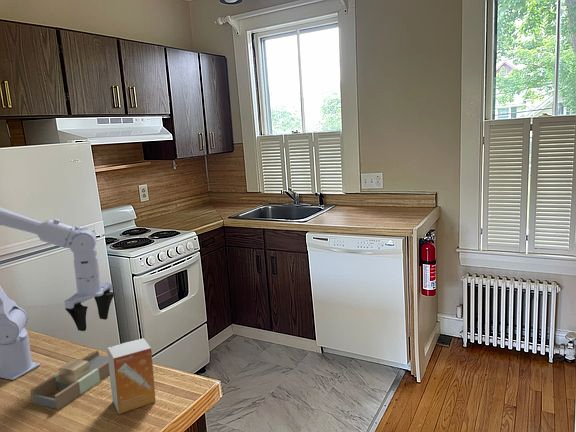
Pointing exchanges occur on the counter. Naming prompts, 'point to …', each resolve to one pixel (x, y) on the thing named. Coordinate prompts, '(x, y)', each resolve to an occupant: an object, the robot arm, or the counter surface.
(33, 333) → the counter surface
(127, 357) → the small box
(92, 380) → the board
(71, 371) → the maple block
